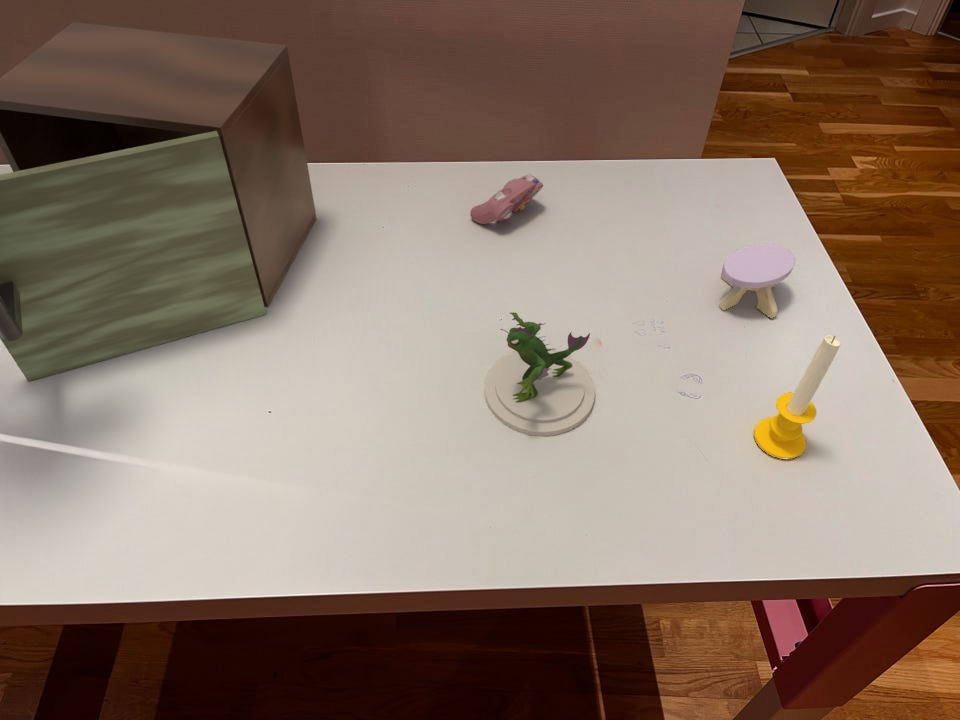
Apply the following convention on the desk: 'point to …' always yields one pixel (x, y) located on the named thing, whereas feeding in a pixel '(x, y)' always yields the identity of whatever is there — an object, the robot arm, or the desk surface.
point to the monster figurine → (539, 384)
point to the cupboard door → (121, 254)
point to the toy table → (756, 274)
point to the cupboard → (171, 119)
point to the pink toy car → (507, 200)
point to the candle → (796, 408)
